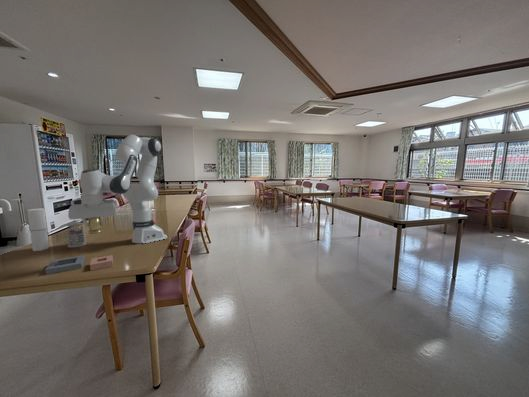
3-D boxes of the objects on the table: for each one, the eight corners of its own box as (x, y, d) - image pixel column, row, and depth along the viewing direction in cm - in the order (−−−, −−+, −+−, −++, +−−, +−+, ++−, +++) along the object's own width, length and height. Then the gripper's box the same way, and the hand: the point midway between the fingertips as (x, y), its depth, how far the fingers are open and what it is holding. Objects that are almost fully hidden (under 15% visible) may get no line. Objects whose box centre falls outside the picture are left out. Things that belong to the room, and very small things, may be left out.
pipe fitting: (102, 230, 121) (101, 216, 121) (102, 232, 117) (100, 218, 116) (89, 232, 118) (87, 217, 117) (88, 234, 113) (86, 219, 113)
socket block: (84, 259, 121) (84, 255, 121) (81, 268, 110) (81, 263, 110) (52, 264, 114) (52, 260, 113) (46, 274, 103) (45, 269, 103)
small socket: (113, 260, 120) (112, 255, 119) (112, 266, 112) (112, 260, 112) (92, 264, 115) (91, 258, 114) (90, 270, 107) (90, 264, 107)
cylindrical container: (30, 251, 132) (25, 210, 129) (35, 247, 138) (30, 208, 135) (46, 249, 135) (41, 209, 132) (50, 246, 141) (46, 208, 138)
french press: (90, 242, 149) (87, 206, 146) (74, 248, 137) (70, 209, 134) (77, 242, 150) (73, 206, 147) (60, 248, 138) (55, 209, 135)
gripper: (116, 198, 124) (118, 222, 125) (68, 200, 112) (71, 226, 114) (116, 199, 119) (118, 224, 120) (66, 202, 107) (69, 229, 109)
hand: (94, 225), depth 117 cm, fingers closed on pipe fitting, 5 cm apart
